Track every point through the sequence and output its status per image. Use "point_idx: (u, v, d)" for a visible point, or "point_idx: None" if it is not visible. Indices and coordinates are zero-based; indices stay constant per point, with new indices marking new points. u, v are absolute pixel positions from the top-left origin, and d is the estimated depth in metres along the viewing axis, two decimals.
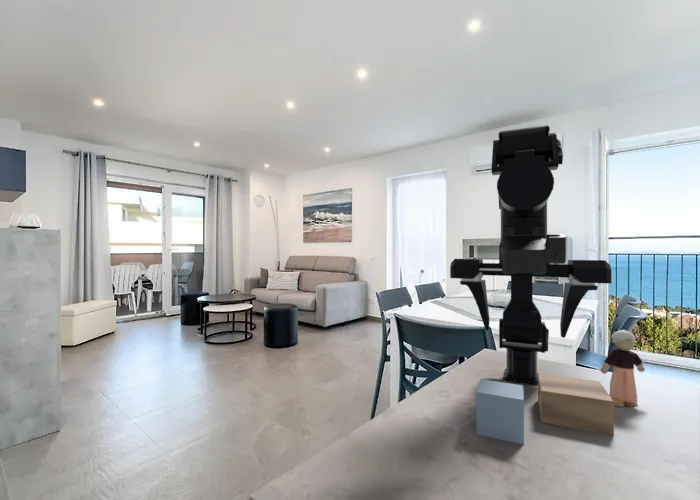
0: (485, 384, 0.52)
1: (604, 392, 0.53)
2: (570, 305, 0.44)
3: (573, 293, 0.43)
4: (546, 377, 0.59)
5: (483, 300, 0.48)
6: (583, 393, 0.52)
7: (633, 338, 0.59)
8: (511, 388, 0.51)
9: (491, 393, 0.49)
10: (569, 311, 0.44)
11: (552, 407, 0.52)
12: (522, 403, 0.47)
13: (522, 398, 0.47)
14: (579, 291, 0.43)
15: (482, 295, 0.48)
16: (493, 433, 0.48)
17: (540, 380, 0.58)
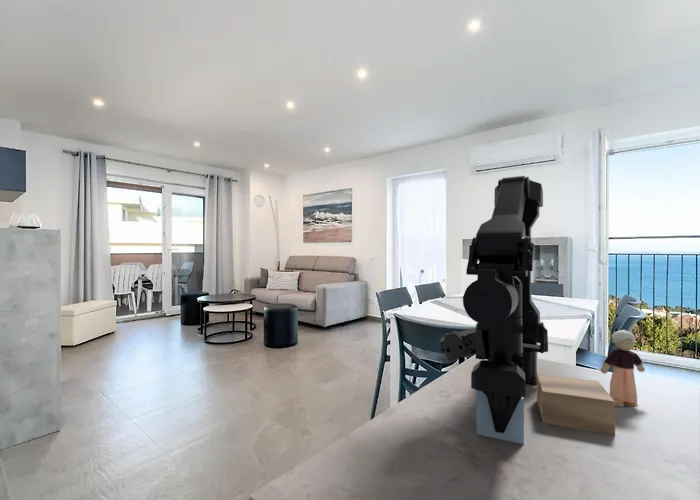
0: None
1: (604, 392, 0.53)
2: None
3: None
4: (546, 377, 0.59)
5: None
6: (584, 393, 0.52)
7: (633, 338, 0.59)
8: None
9: None
10: None
11: (554, 408, 0.52)
12: (522, 402, 0.47)
13: (522, 397, 0.47)
14: None
15: None
16: (493, 432, 0.48)
17: (540, 380, 0.57)
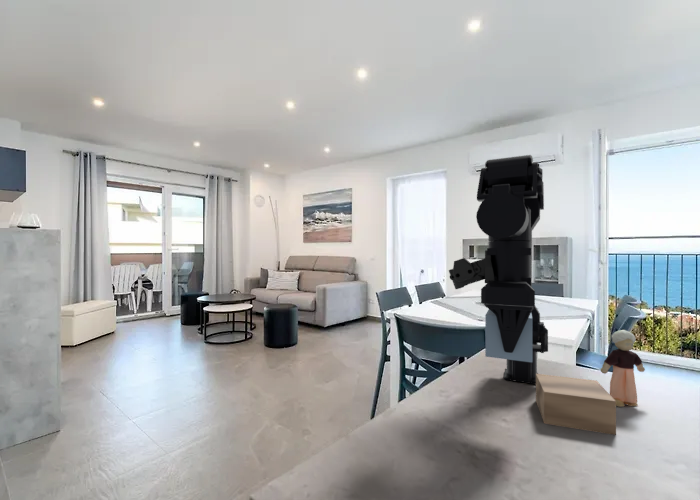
0: None
1: (604, 391, 0.53)
2: None
3: None
4: (545, 377, 0.59)
5: None
6: (585, 393, 0.52)
7: (633, 338, 0.59)
8: None
9: None
10: (499, 326, 0.49)
11: (555, 408, 0.52)
12: (531, 321, 0.48)
13: (531, 317, 0.48)
14: None
15: None
16: (502, 353, 0.49)
17: (540, 381, 0.57)
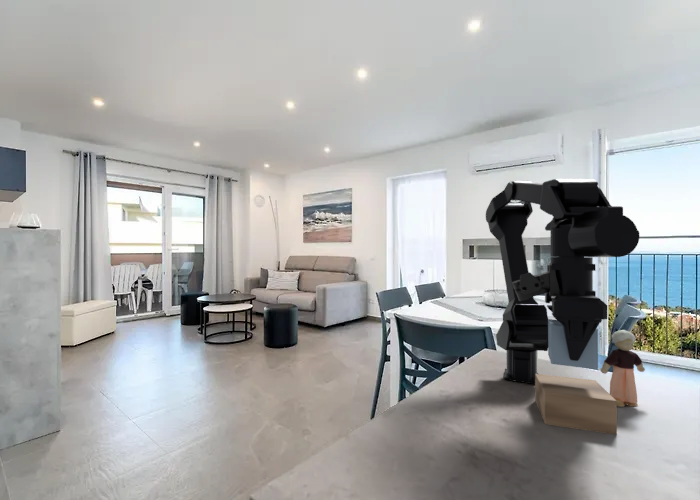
0: (555, 321, 0.57)
1: (604, 391, 0.53)
2: (564, 331, 0.53)
3: None
4: (545, 378, 0.59)
5: None
6: (585, 393, 0.52)
7: (633, 338, 0.59)
8: None
9: None
10: (565, 336, 0.53)
11: (556, 409, 0.52)
12: (596, 332, 0.52)
13: (596, 328, 0.52)
14: None
15: None
16: (568, 361, 0.53)
17: (540, 381, 0.57)
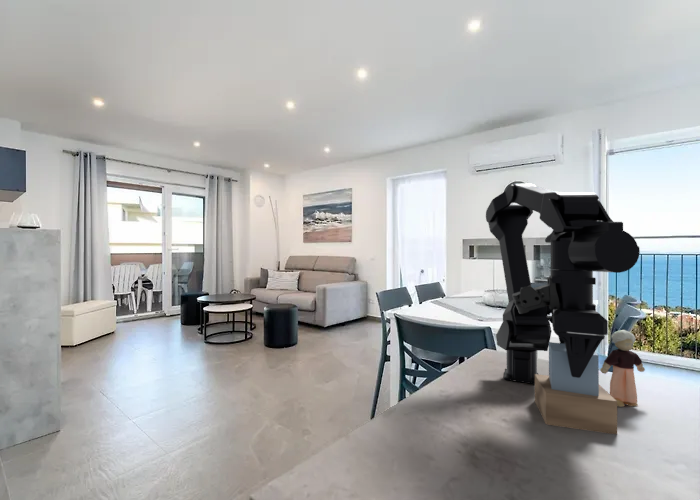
0: (556, 345, 0.57)
1: (604, 391, 0.53)
2: None
3: None
4: (544, 378, 0.59)
5: None
6: None
7: (633, 338, 0.59)
8: None
9: (565, 351, 0.54)
10: None
11: (557, 409, 0.52)
12: (597, 358, 0.51)
13: (596, 354, 0.52)
14: None
15: None
16: (568, 387, 0.53)
17: (540, 381, 0.57)
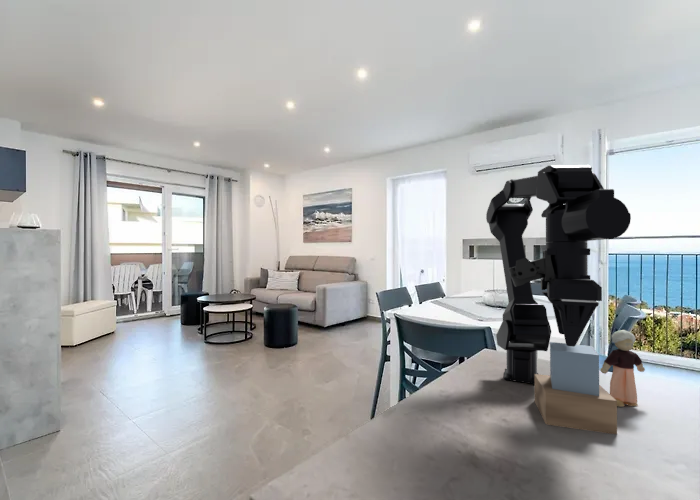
0: (557, 345, 0.57)
1: (604, 391, 0.53)
2: (560, 316, 0.52)
3: None
4: (544, 378, 0.59)
5: (553, 308, 0.61)
6: None
7: (633, 338, 0.59)
8: (582, 348, 0.55)
9: (566, 350, 0.54)
10: (561, 322, 0.52)
11: (557, 409, 0.52)
12: (597, 358, 0.51)
13: (597, 354, 0.52)
14: None
15: (552, 304, 0.61)
16: (569, 386, 0.53)
17: (540, 381, 0.57)
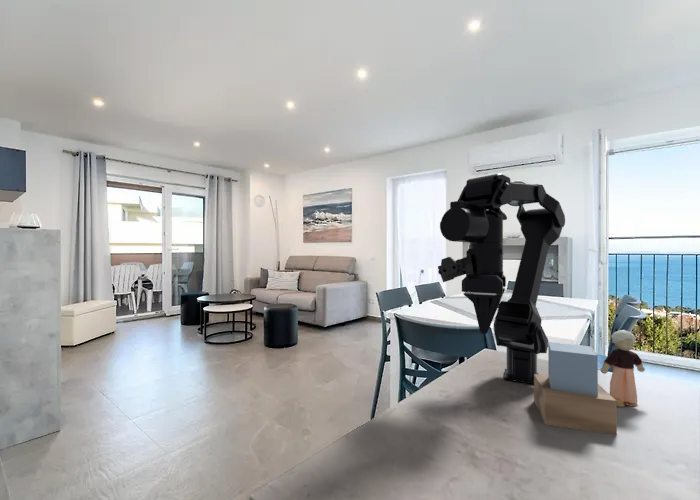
0: (555, 345, 0.57)
1: (603, 391, 0.53)
2: (475, 308, 0.60)
3: None
4: (544, 378, 0.59)
5: None
6: None
7: (633, 338, 0.59)
8: (581, 348, 0.55)
9: (564, 351, 0.53)
10: (476, 312, 0.60)
11: (556, 409, 0.52)
12: (596, 358, 0.51)
13: (595, 354, 0.52)
14: None
15: None
16: (567, 387, 0.53)
17: (539, 381, 0.57)
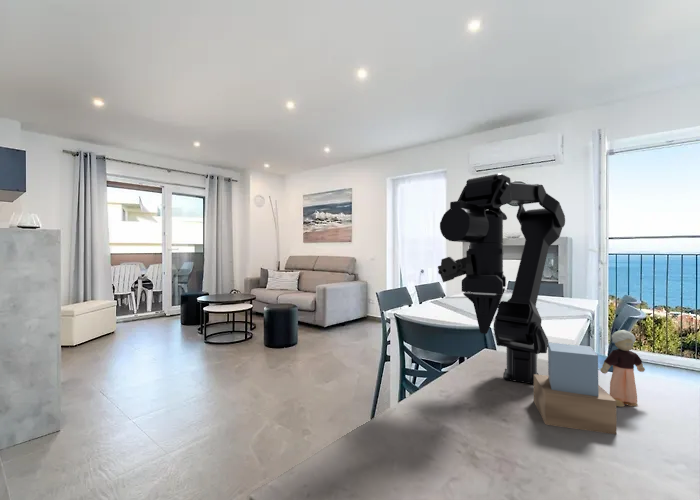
0: (555, 345, 0.57)
1: (603, 391, 0.53)
2: (475, 308, 0.60)
3: None
4: (543, 378, 0.59)
5: None
6: None
7: (633, 338, 0.59)
8: (581, 348, 0.55)
9: (565, 351, 0.53)
10: (476, 312, 0.60)
11: (556, 409, 0.52)
12: (596, 358, 0.51)
13: (596, 354, 0.52)
14: None
15: None
16: (568, 387, 0.53)
17: (539, 381, 0.57)
